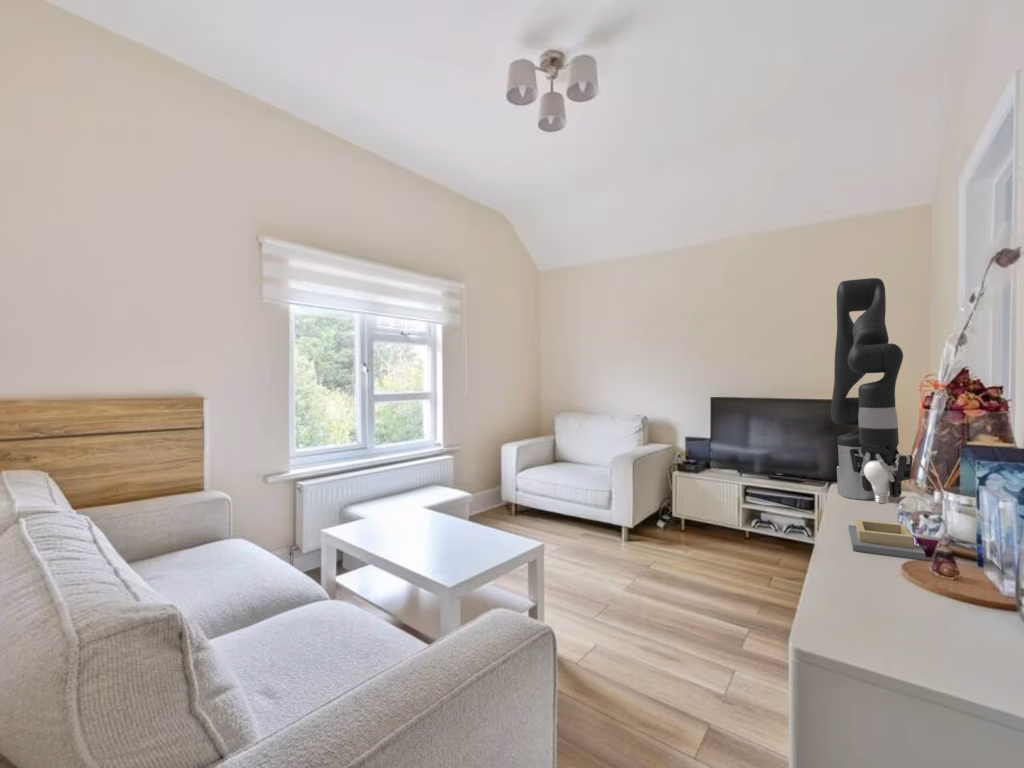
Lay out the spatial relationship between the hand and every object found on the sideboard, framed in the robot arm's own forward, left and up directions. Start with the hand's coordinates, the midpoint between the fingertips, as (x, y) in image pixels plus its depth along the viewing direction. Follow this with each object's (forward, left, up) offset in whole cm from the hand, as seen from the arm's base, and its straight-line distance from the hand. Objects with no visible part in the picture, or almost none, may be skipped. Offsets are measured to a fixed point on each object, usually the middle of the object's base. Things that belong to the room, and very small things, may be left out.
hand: (881, 493), depth 111 cm
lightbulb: (0, 0, -3) cm, 3 cm away
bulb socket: (0, 0, -12) cm, 12 cm away
